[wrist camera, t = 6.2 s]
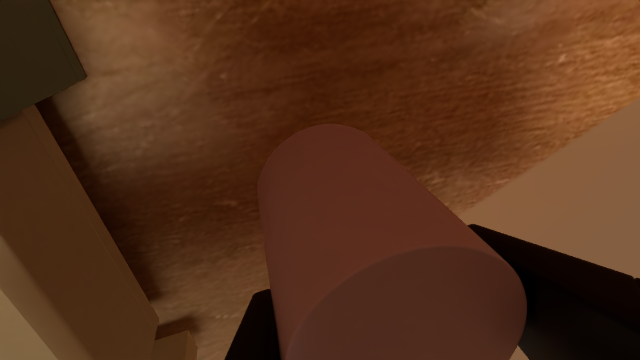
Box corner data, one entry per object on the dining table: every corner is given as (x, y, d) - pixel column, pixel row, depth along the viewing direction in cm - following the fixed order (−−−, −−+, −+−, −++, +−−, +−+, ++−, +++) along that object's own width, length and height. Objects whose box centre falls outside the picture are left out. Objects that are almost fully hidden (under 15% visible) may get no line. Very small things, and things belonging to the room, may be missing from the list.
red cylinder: (397, 225, 14) (522, 388, 8) (277, 262, 14) (315, 466, 8) (380, 106, 12) (535, 208, 6) (238, 145, 12) (248, 301, 6)
